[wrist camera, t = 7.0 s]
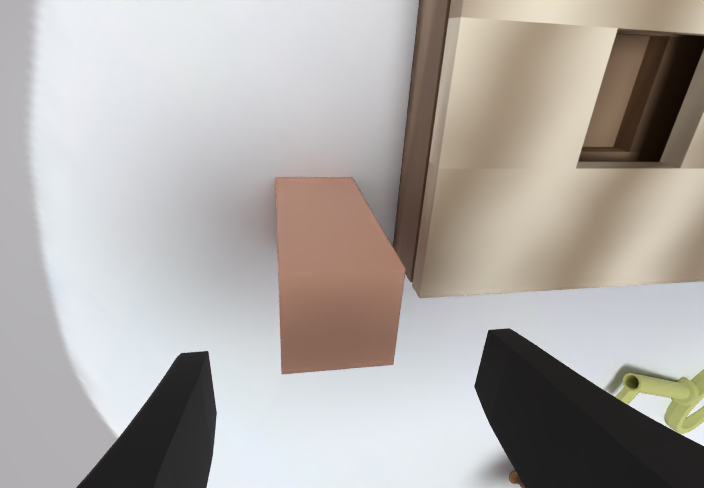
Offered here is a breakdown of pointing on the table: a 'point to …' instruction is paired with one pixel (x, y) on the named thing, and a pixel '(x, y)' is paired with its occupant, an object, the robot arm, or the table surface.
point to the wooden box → (605, 124)
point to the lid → (553, 156)
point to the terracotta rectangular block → (334, 278)
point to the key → (680, 392)
